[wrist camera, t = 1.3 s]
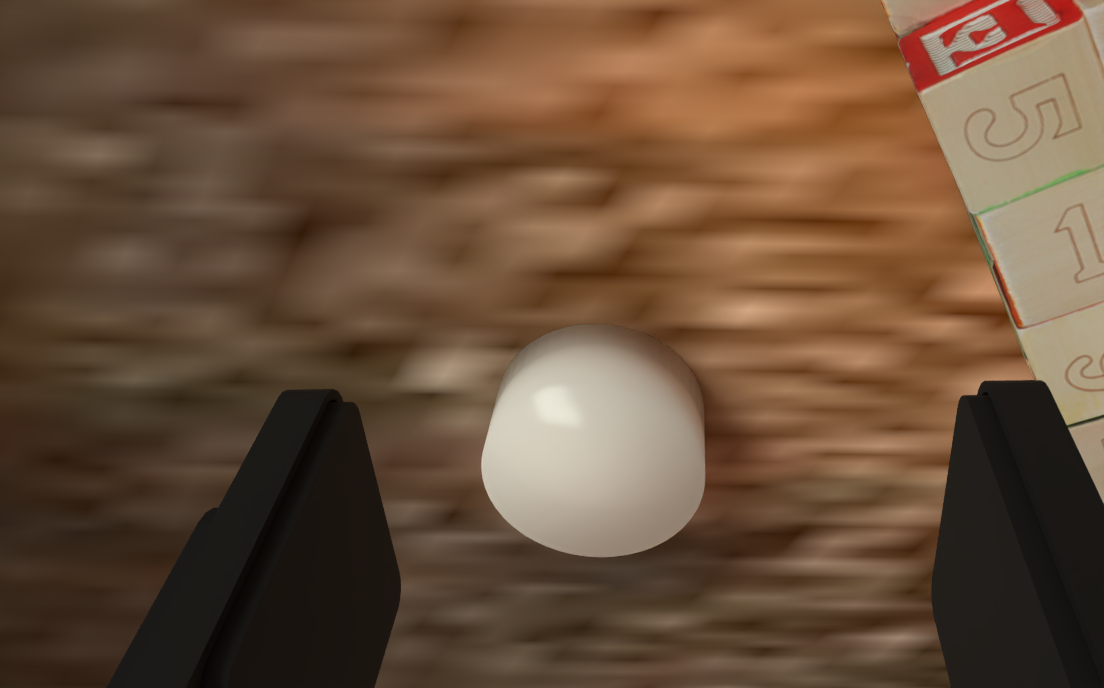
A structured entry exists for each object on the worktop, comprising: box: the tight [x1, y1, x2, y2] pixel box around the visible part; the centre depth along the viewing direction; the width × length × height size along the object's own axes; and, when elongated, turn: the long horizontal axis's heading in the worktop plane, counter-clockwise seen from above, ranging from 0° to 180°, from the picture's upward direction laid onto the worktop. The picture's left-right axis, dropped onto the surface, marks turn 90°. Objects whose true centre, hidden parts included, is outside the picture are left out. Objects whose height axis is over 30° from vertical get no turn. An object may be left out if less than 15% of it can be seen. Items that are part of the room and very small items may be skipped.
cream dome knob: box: [481, 324, 705, 557], centre depth 39 cm, size 8×8×4 cm
